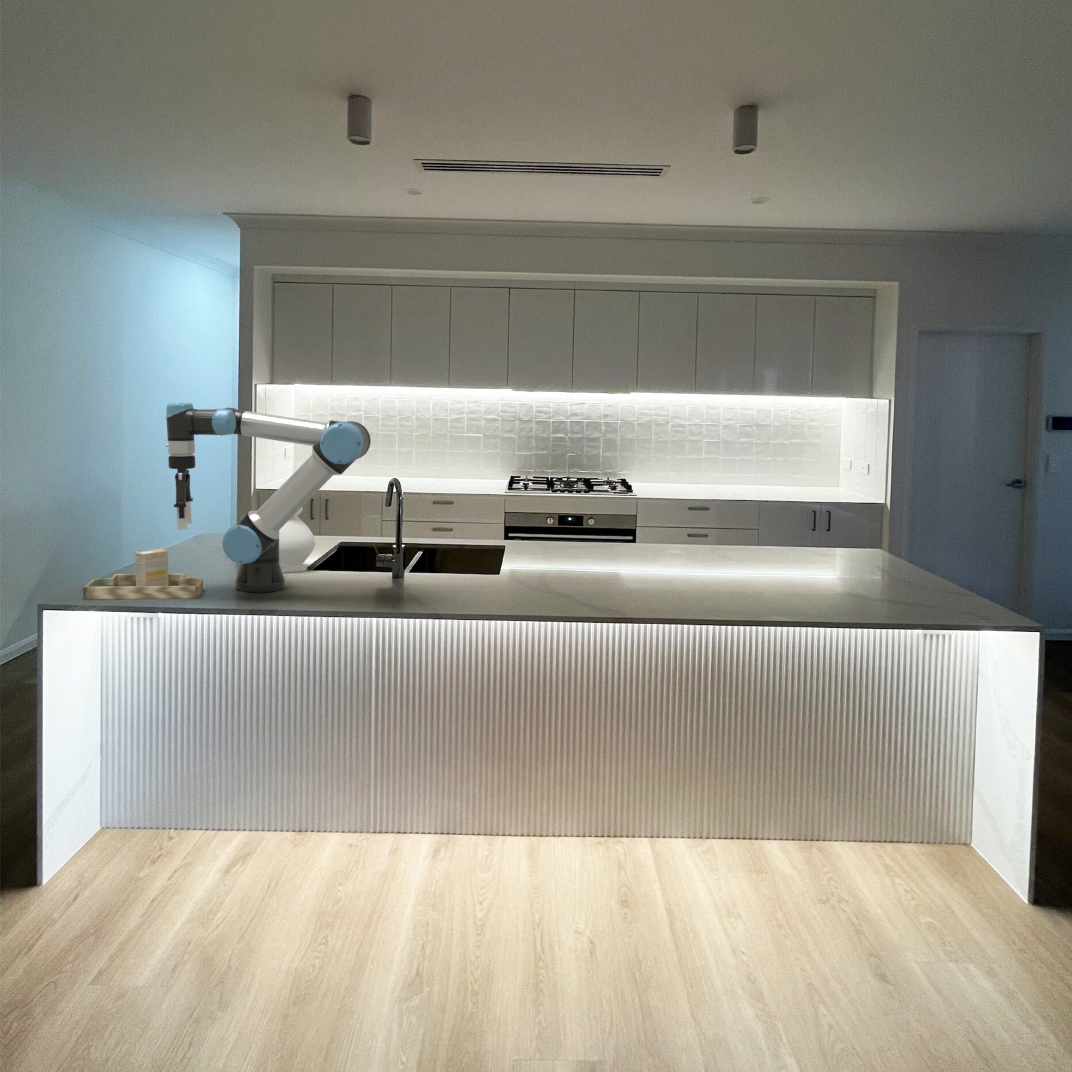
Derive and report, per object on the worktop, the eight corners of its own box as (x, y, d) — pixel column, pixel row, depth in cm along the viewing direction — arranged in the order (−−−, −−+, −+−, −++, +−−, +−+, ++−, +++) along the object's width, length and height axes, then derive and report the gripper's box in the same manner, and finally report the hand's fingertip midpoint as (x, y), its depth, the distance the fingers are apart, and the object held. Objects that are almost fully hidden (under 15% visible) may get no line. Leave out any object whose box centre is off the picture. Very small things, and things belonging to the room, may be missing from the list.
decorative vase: (265, 564, 378) (265, 493, 374) (317, 565, 380) (317, 494, 376) (258, 573, 360) (257, 499, 357) (312, 574, 362) (312, 500, 359)
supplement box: (160, 591, 327) (159, 548, 325) (169, 593, 324) (168, 550, 322) (135, 594, 321) (134, 551, 319) (144, 597, 318) (143, 553, 316)
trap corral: (205, 584, 339) (205, 573, 338) (198, 598, 318) (198, 586, 318) (97, 585, 332) (97, 574, 332) (83, 599, 312) (83, 587, 311)
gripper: (172, 452, 329) (175, 521, 332) (163, 458, 305) (167, 532, 308) (198, 452, 331) (201, 520, 334) (191, 457, 307) (194, 531, 310)
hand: (184, 526), depth 321 cm, fingers open, 13 cm apart
